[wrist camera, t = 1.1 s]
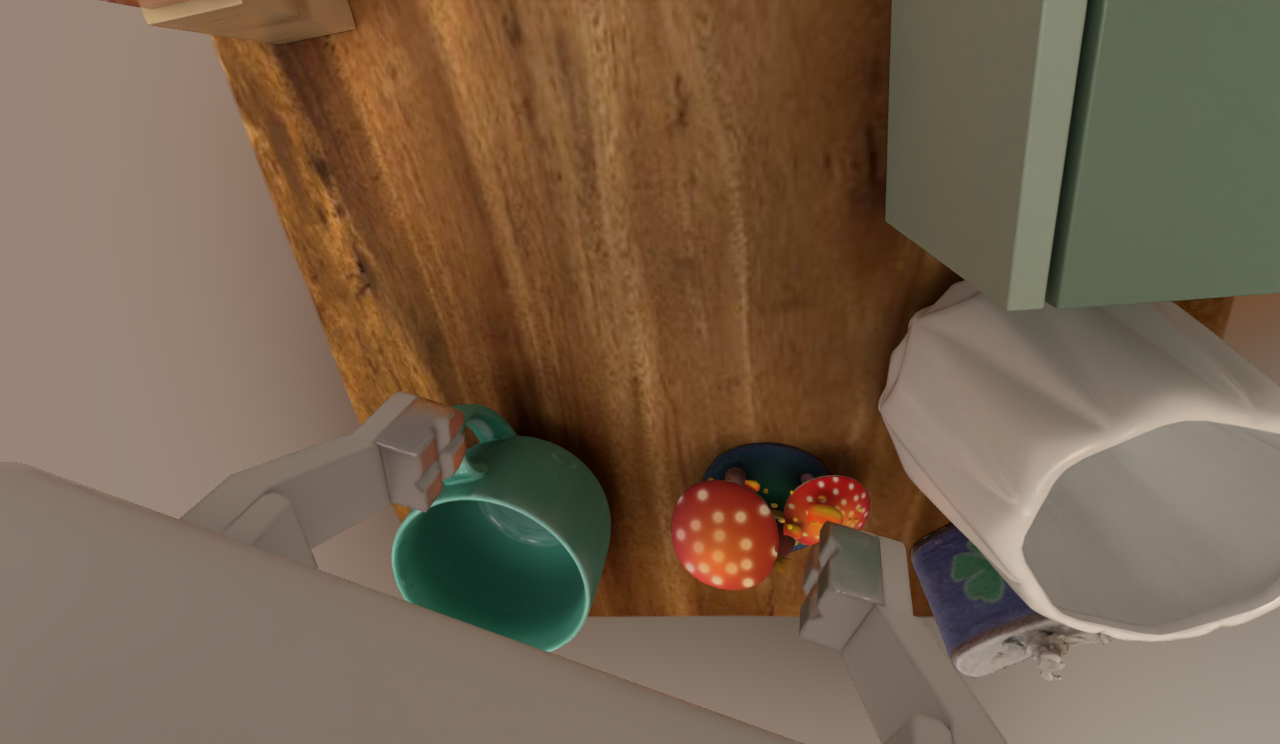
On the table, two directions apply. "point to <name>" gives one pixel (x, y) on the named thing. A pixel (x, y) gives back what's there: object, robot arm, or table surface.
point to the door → (982, 135)
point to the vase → (1096, 459)
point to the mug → (508, 538)
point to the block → (146, 3)
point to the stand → (256, 18)
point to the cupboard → (1171, 155)
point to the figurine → (759, 513)
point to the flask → (987, 611)
